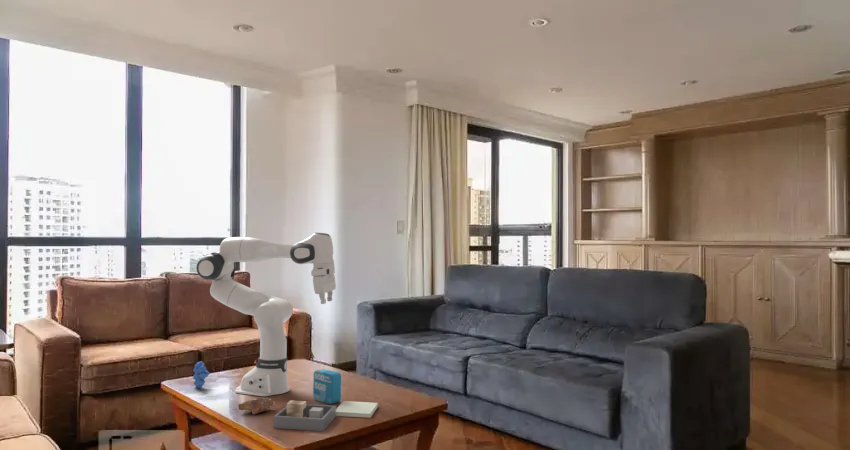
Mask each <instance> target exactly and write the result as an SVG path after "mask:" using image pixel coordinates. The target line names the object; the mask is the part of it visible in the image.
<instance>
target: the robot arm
mask: <svg viewBox="0 0 850 450" xmlns="http://www.w3.org/2000/svg"><path fill="white" fill-rule="evenodd" d="M332 239H333V238H332V236H331V235H330V234H328V233H326V232H313V233H312V234H311V235H310V236H309V237H307V238H305V239H304V240H301V241H298V242H296V243H279V242H278V243H277V242H273V241H270V240H265V239H261V238H258V237H251V236H232V237H227V238H224V239H223V240H222V241H221V243H219V244H220V245H219V250H218V252H217V251H213V252H211V253H209V254H207V255H205V256H203V257H202V258H201V259H199V260H198V262H197V263H196V273H197V275H198V276H199V277H200V278H201V279H203V280H207V281H211V285H210V288H209V293H210V296H211V297H212V298H213V299H214V300H215V301H217V302H219V303H221V304H222V305H224V306H226V307H228V308H231V309H232V310H236V311H237V312H240V313H241V314H243V315H250V316H252V317H253V320H254V323H255V324H256V325H257V329H258V335H259V342H260V343H259V344H260V345H259V357H258V358H257V359H255V360H254V364H255V366H254V367H253V368H252V369H250V370H249V371H248V372H246V373H245V374H244V375H243V377H242V379H241V382H240V385H239V386H237V387H236V388H235V390H234V393H235V394H241V395H249V396H250V395H251V396H256V397H257V396H258V397H269V396H273V395H275V396H276V395H281V394H284V393H287V392H289V391H290V390H291V389H290V387H289V381H288V375H287V373H288V372H287V371H288V356H287V346H288V345H287V343H288V342H287V341H288V340H287V337H286V335H285V332H284V323H286V322H287V321H288V320H290V318H291V316H293V312H294V307H293V304H292V303H291V302H290V300H288V299H285V298H281V297H278V296H275V295H272V294H269V293H266V292H262V291H259V290H257V289H253V288H251V287H249V286H247V285H244V284H242V283H240V282H238V281H236V280H234V278H235V274H236V270H237V263H258V262H263V261H267V260H272V259H279V258H280V259H281V258H282V259H291V261H293V262H294V263H295V264H299V265H305V264H306V265H308V264H312V266H313V268H312V270H311V273H310V274H311V277H312V284H313V285H312V286H313V290H314V291H313V292H314V294H316V295H318V297H319V300H320V304H321V305H325V304H326V303H327V302H332V301H333V291H334V290H336V286H337V284H336V276H335V273H336V271H335V270H336V269H335V260H334V256H333V255H334V245H333V240H332ZM326 293H327V297H325V296H326Z"/></svg>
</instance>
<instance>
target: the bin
mask: <svg viewBox="0 0 850 450" xmlns="http://www.w3.org/2000/svg"><path fill="white" fill-rule="evenodd" d="M312 407H319V408H323V417H322V418H309V410H310V409H311V408H312ZM336 409H337V405H330V404H328V405H327V404H311V403H310V404H307V403H306V417H290V416H286V413H287V405H285V406H284V407H283V408H282V409H281V410H279V411H278V412H277V413H276V414H274V415H273V425H272V426H273V429H285V430H287V429H288V430H303V431H315V432H316V431H317V432H319V431H320V432H324V431H325V430H326V428H327V427H328V426H329V425H330V424H331V422H332V421H333V420H334V419H335V418H336V417H337V416H336Z"/></svg>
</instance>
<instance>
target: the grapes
mask: <svg viewBox="0 0 850 450" xmlns="http://www.w3.org/2000/svg"><path fill="white" fill-rule="evenodd" d="M192 372H194V374H193V376H192V379H193V380H194V381H193V384H194V386H195V387H196V388H197V389H199V388H200V389H202V387H203V386H205V383H206V380H205V379H206V378H208V376H209V375H210V374H211V373H210V372H209V371H208V369H207V367H206V366H205V363H204V361H202V360H201V361H196V363H195V364H194V368H193V370H192Z"/></svg>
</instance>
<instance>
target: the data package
mask: <svg viewBox="0 0 850 450" xmlns="http://www.w3.org/2000/svg"><path fill="white" fill-rule="evenodd" d="M312 386H313V389H312V394H313V395H312V397H313V399H314V400H315V401H319V402H322V403H324V404H328V405H334V404H336V403H340V402H341V400H342V399H341V398H342V375H341V373H340V372H339V371H334V370H330V369H327V368H326V369H325V368H321V369H317V370H315V371H314V372H313V385H312Z"/></svg>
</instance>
